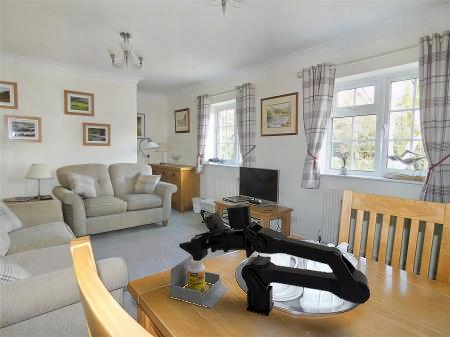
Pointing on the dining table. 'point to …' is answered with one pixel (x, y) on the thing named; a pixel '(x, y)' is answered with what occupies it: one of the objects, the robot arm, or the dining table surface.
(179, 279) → the carton
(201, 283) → the supplement bottle
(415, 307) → the dining table surface
